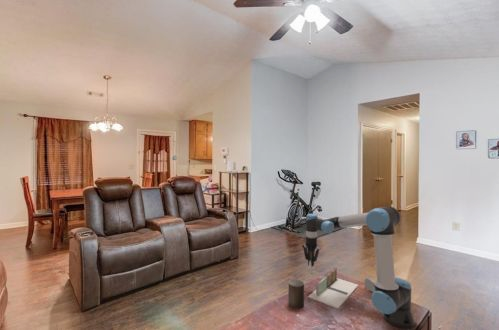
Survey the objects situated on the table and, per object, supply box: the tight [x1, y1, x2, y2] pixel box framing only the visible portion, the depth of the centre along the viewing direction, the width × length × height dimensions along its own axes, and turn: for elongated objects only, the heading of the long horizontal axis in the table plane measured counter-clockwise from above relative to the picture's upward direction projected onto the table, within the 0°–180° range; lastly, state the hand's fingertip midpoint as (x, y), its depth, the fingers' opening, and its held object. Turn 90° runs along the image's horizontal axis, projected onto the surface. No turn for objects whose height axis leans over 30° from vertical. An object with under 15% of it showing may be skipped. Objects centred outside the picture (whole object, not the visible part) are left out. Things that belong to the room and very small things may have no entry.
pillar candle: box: [287, 278, 305, 309], centre depth 160 cm, size 10×10×15 cm
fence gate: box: [315, 276, 327, 295], centre depth 174 cm, size 14×2×8 cm, turn 139°
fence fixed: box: [324, 267, 338, 288], centre depth 186 cm, size 17×2×8 cm, turn 139°
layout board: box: [307, 278, 359, 310], centre depth 176 cm, size 38×20×1 cm, turn 139°
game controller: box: [363, 277, 376, 293], centre depth 173 cm, size 20×2×8 cm, turn 12°
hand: (310, 270), depth 177 cm, fingers closed
